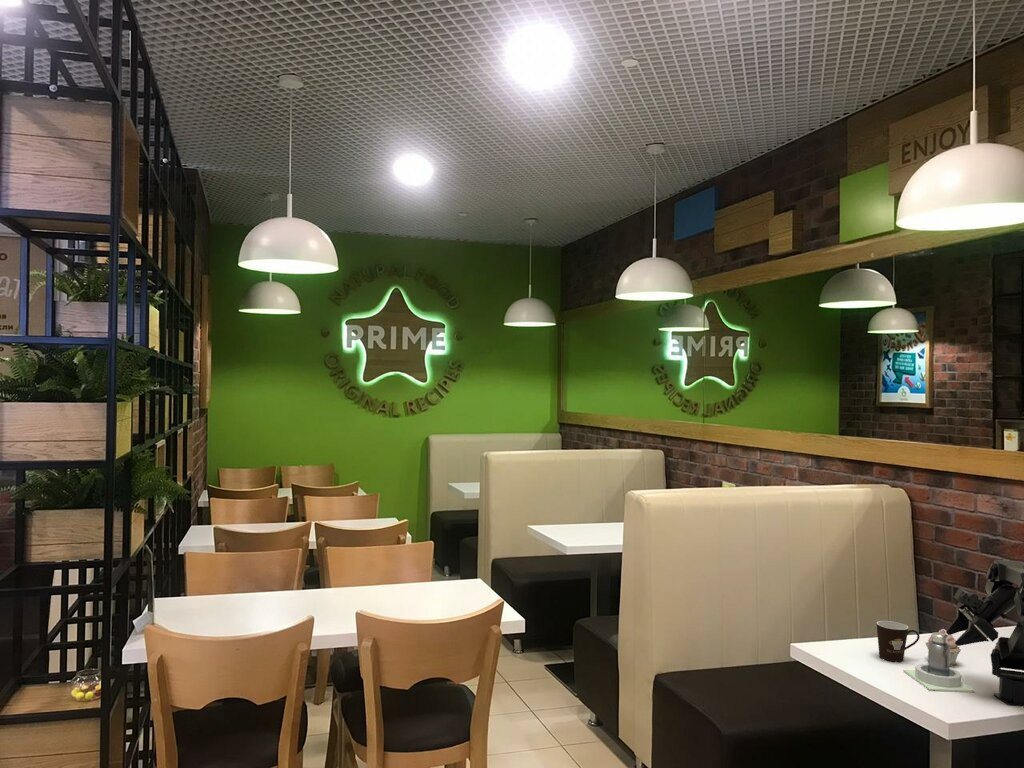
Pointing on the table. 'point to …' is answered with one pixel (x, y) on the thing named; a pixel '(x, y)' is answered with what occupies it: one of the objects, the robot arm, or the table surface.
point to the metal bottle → (939, 655)
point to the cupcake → (953, 647)
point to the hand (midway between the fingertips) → (951, 638)
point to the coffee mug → (893, 640)
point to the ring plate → (931, 687)
